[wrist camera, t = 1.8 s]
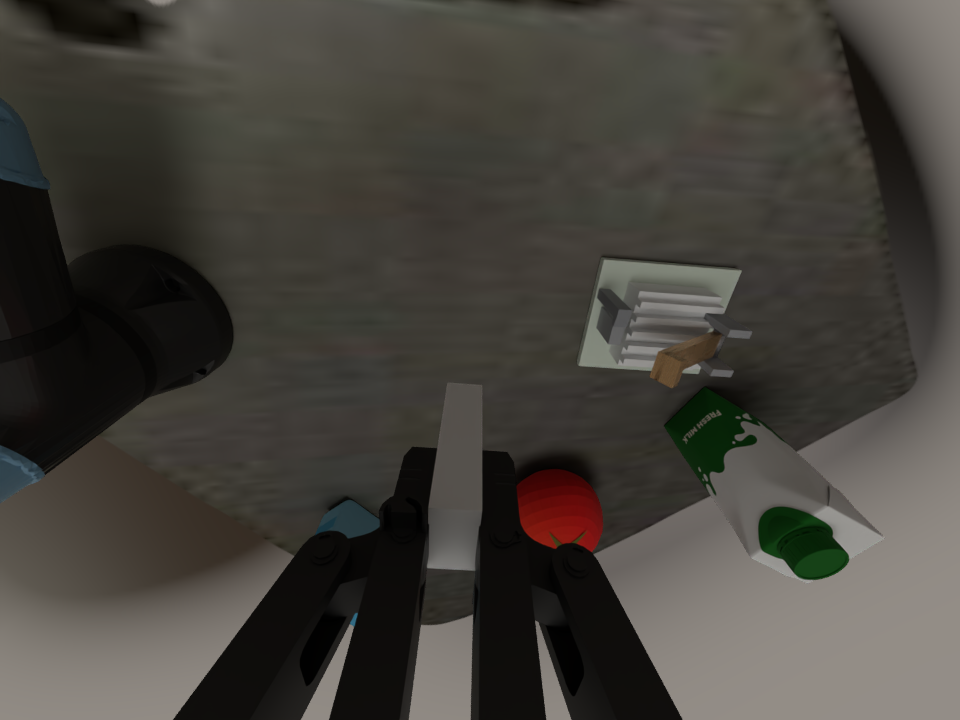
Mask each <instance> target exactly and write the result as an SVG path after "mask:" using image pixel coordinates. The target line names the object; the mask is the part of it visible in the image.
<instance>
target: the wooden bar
mask: <svg viewBox="0 0 960 720" xmlns="http://www.w3.org/2000/svg"><path fill="white" fill-rule="evenodd" d="M725 338H726V336H725V335H724V334H722V333H721V332H719V331H718V330H717V329H715V328H714V330H713V331H712V332H709V333H706V334H704V335H701V336H698V337H696V338H693V339H690V340H688V341H685V342H682V343H679V344H677V345H674V346H671V347H669V348H666V349H663V350H661V351H658V354H657V357H656V359H655V362H654V365H653V368H652V371H651V374H650V377H651V378H653V379H655V380H657V381H659V382H661V383H663V384H665V385H667V386H668V387H670V388H673V387H675V386H677V385H678V382H679V379H680V377H681V374H682V372H683V370H684V369H686V368H689V367H691V366H693V365H695V364H697V363H700V362H702V361H704V360H706V359H709V358H713V359H715V358H717V357H718V354H719V352H720V350H721V348H722V345H723V343H724V341H725Z"/></svg>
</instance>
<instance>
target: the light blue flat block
mask: <svg viewBox="0 0 960 720" xmlns="http://www.w3.org/2000/svg"><path fill="white" fill-rule="evenodd" d="M379 527H380V521H379V519H378V518H377V517H375V516H374V515H373V514H371V513H370V512H368V511H367V510H366V509H364V508H363V507H361V506H360V505H359V504H357V503H356V502H354V501H352V500H346V501H344V502H343V503H341V504H340V505H338V506H337V507H335V508H334V509H332V510H330V511H329V512H327V513H326V514H325V515H324V516H323V518H322V520H321V523H320V525H319V527H318V530H317V532H316V534H318V533H320V532H324V531H329V530H332V531H339V532H341V533H343V534H345V535H346V536H347V538H352V537H356V536H360V535H364V534H367V533H370V532H372V531H374V530H376V529H377V528H379ZM316 534H315V535H316ZM357 615H358V613H355V615H354V617H353V619H352V621H351V622H350V624H351V625H353V626H355V622H356V618H357Z"/></svg>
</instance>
